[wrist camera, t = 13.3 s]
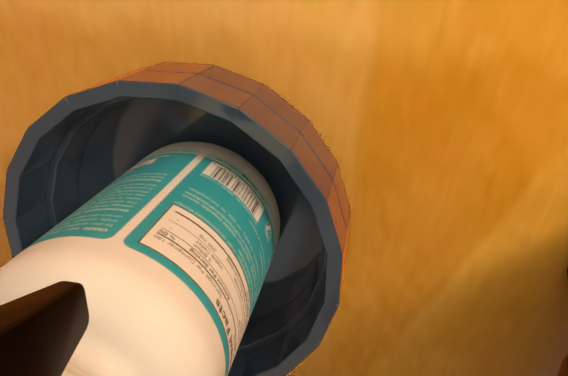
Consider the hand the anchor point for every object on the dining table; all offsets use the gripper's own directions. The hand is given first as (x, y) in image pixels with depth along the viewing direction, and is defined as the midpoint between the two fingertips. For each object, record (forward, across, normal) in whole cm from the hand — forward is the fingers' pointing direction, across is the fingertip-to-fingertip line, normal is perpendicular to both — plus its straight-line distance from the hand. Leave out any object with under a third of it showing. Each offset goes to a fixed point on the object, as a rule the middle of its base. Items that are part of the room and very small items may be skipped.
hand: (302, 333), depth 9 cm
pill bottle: (+13, +6, +4) cm, 15 cm away
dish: (+13, +7, +4) cm, 15 cm away
